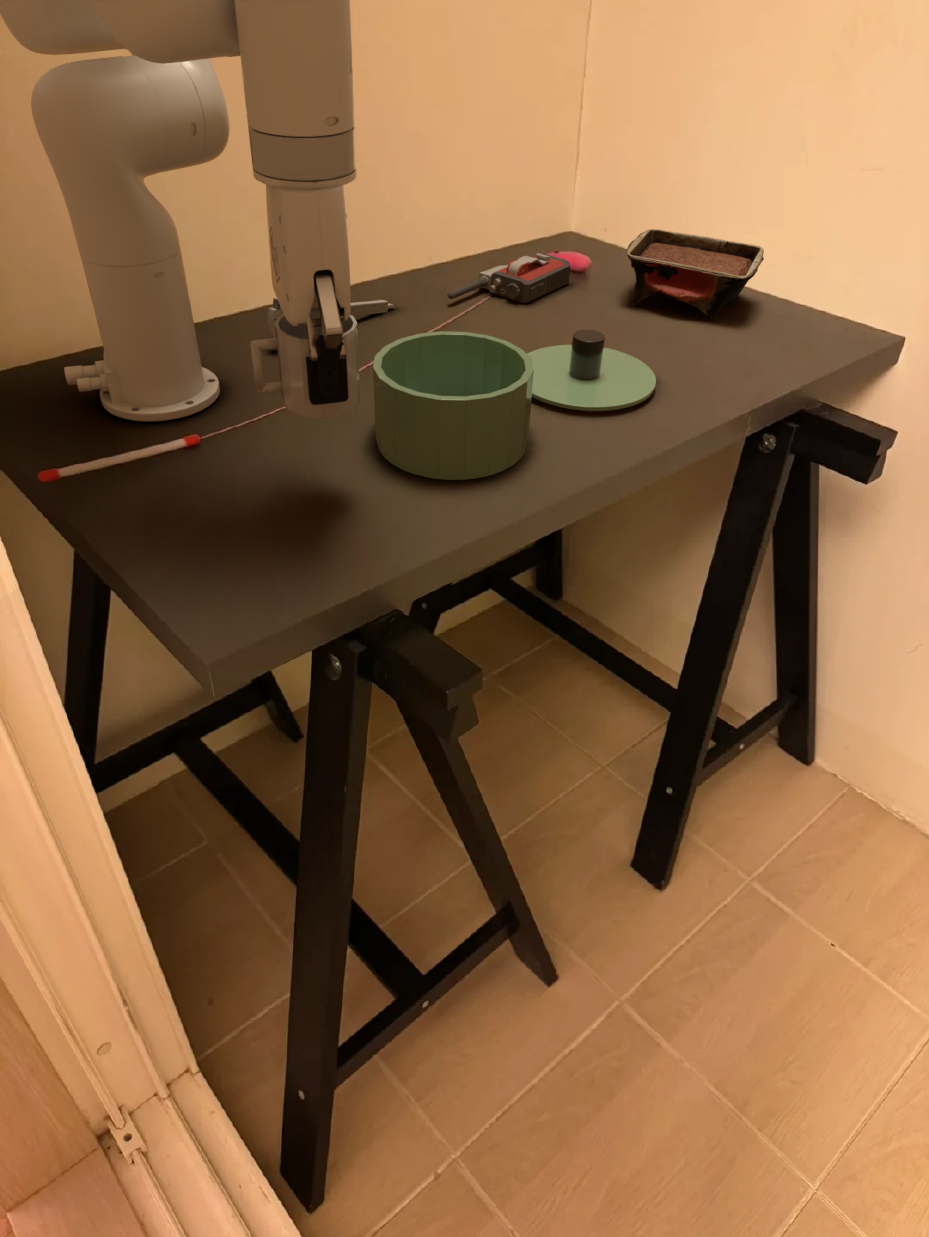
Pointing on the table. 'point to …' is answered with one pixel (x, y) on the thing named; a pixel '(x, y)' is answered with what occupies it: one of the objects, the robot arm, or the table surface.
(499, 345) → the pot
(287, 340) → the mug
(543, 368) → the pot lid
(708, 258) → the baking dish
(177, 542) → the table surface
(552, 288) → the walkie-talkie
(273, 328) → the caliper
